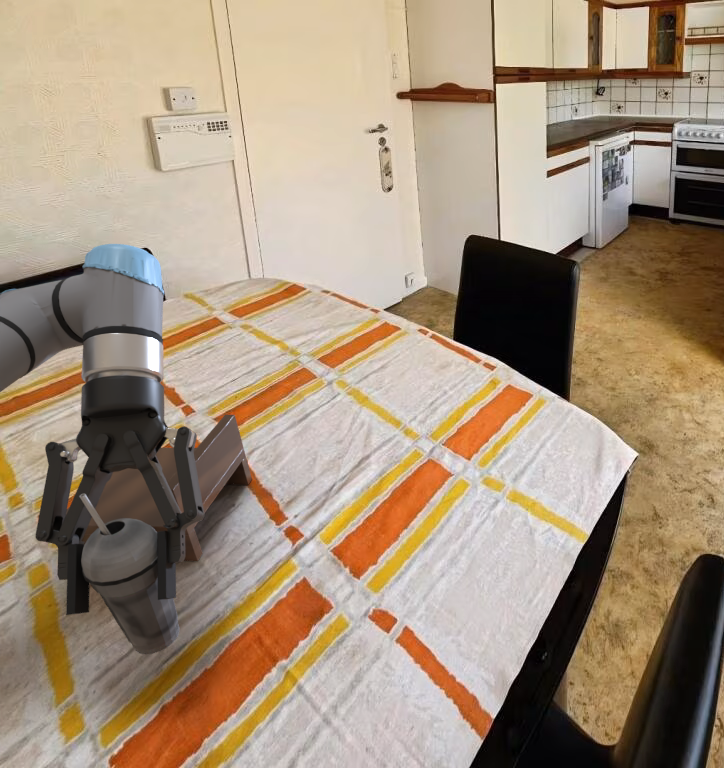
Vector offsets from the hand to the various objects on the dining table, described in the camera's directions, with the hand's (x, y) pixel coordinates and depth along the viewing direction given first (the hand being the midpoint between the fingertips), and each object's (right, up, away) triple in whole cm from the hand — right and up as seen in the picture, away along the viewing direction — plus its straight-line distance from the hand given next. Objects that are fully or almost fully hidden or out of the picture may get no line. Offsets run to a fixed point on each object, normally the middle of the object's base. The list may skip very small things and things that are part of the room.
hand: (123, 605), depth 61 cm
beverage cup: (-1, -6, +7) cm, 9 cm away
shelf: (-13, +2, +30) cm, 33 cm away
